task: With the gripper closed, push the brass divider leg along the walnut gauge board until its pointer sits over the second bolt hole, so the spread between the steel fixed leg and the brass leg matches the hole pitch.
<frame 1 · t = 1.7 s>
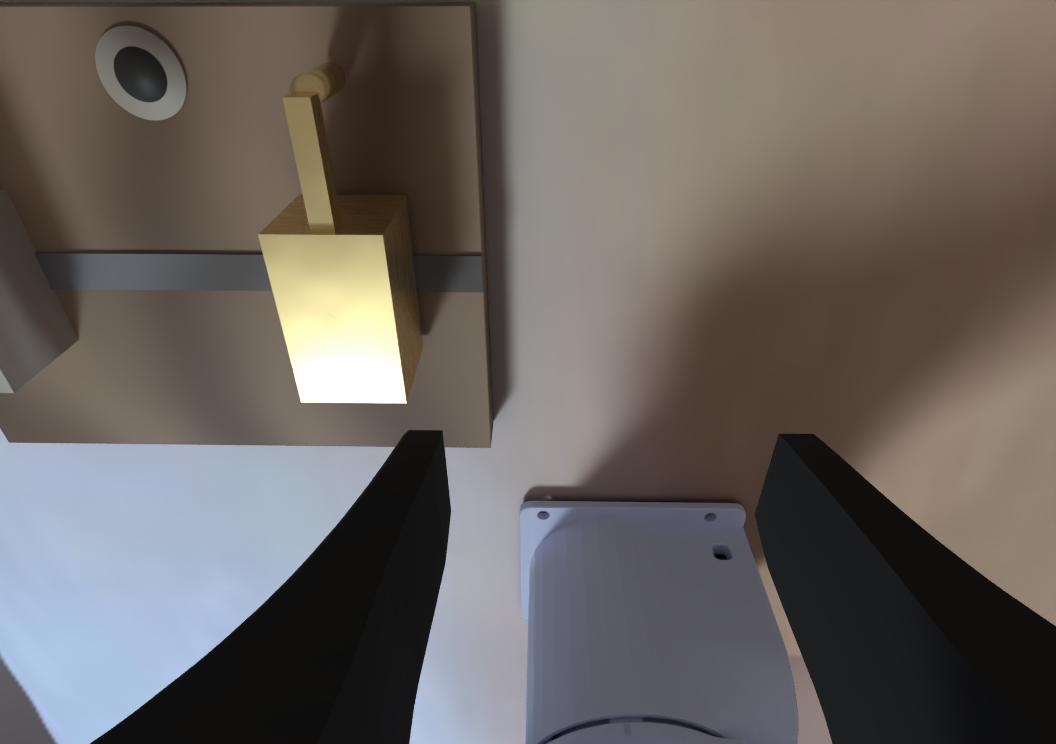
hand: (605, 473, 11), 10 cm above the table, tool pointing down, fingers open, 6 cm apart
brass leg: (343, 243, 16), point 3 cm above the table, slide at 5.0 cm
gauge board: (211, 251, 20), on the table
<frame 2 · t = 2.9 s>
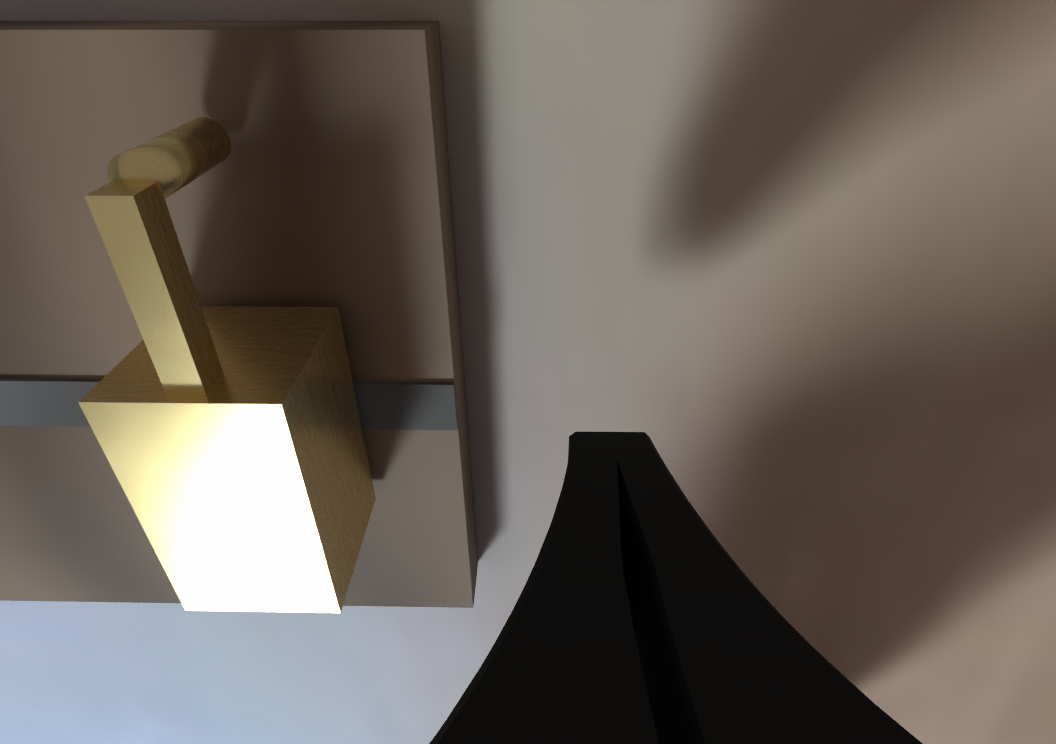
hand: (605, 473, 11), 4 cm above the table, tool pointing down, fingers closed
brass leg: (236, 389, 11), point 3 cm above the table, slide at 5.0 cm
gauge board: (81, 363, 14), on the table
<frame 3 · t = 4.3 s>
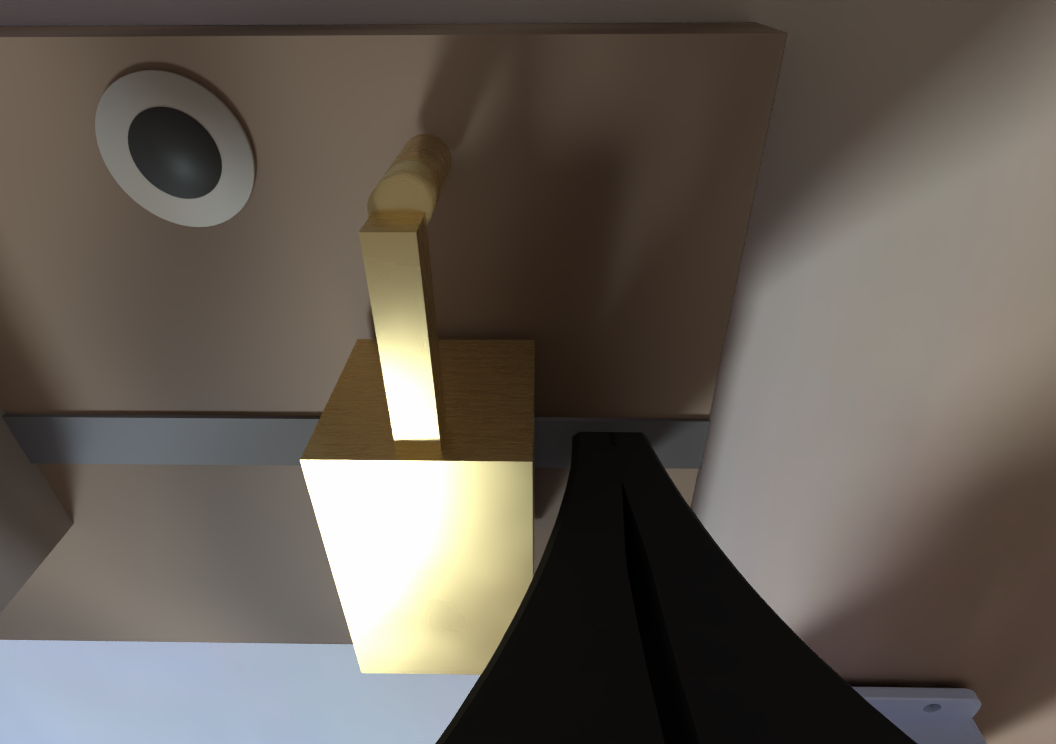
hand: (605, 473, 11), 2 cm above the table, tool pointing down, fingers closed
brass leg: (437, 434, 10), point 3 cm above the table, slide at 3.7 cm, touching gripper
gauge board: (272, 394, 13), on the table
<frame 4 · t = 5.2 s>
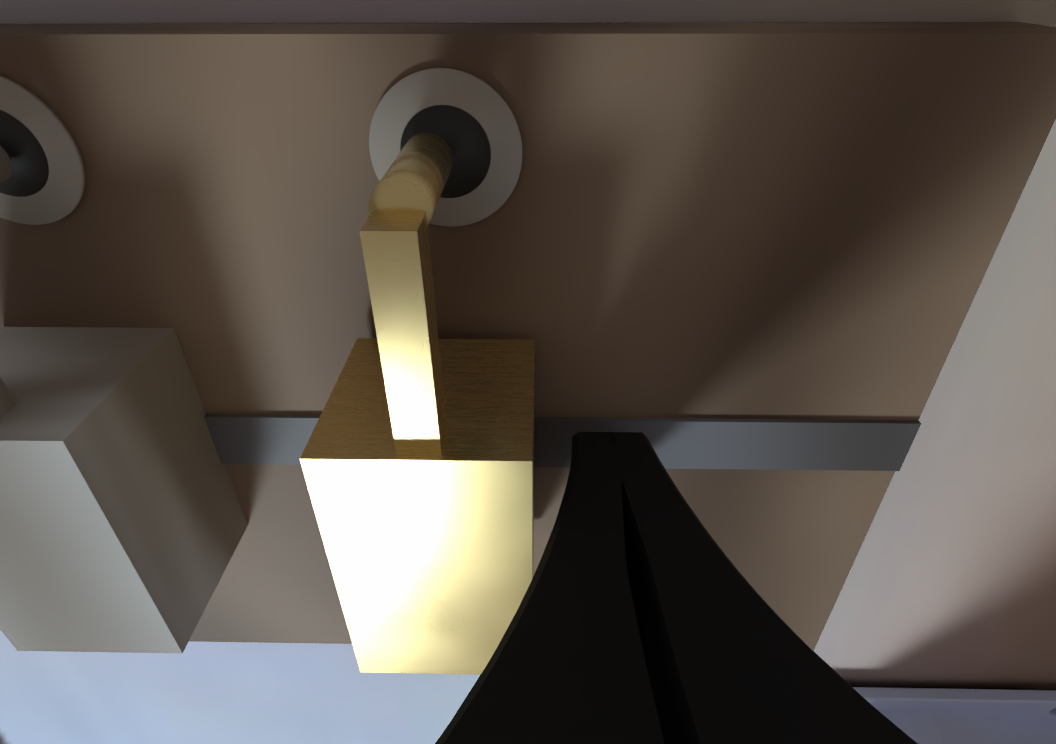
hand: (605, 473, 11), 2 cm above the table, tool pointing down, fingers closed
brass leg: (437, 433, 10), point 3 cm above the table, slide at -0.2 cm, touching gripper
gauge board: (452, 394, 13), on the table
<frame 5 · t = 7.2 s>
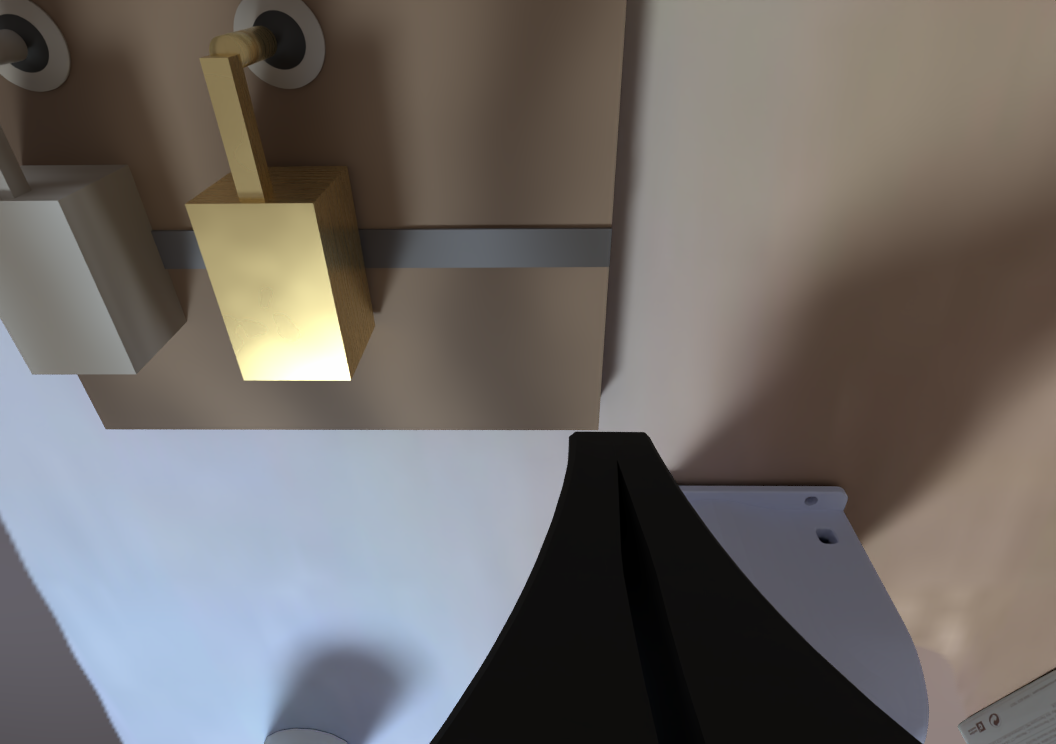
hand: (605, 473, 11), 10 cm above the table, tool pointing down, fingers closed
brass leg: (280, 215, 16), point 3 cm above the table, slide at -0.3 cm
supplement box: (1047, 706, 35), on the table
gauge board: (323, 229, 20), on the table
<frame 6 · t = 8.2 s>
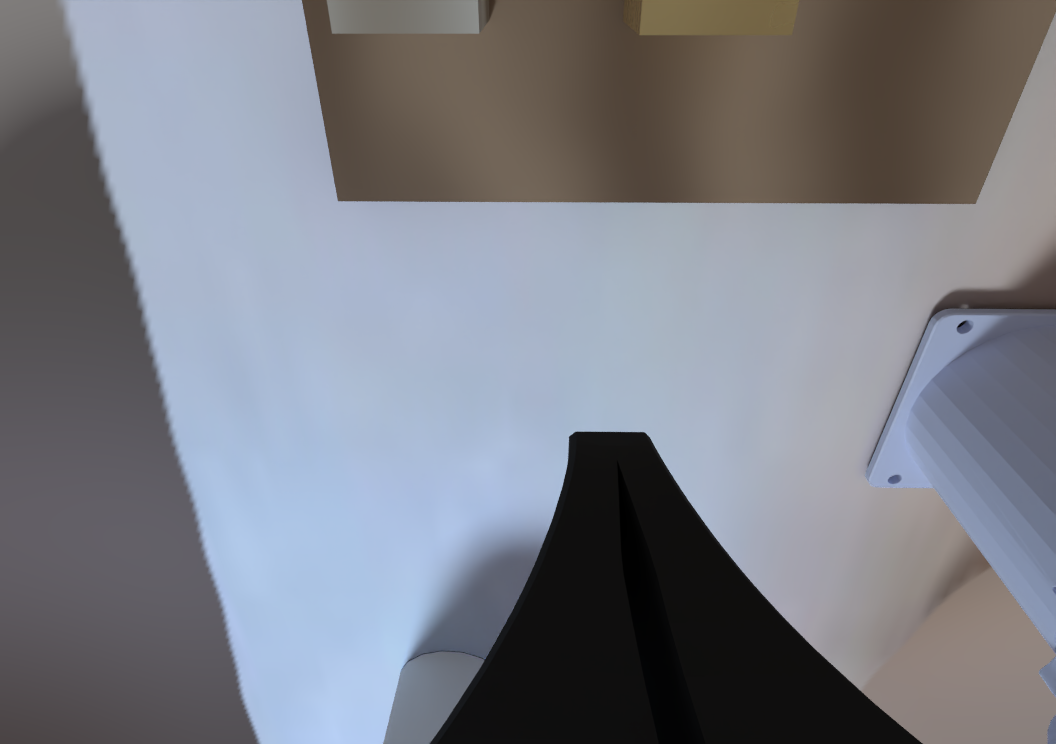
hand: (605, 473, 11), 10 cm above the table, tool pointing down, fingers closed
drinking glass: (451, 677, 35), on the table
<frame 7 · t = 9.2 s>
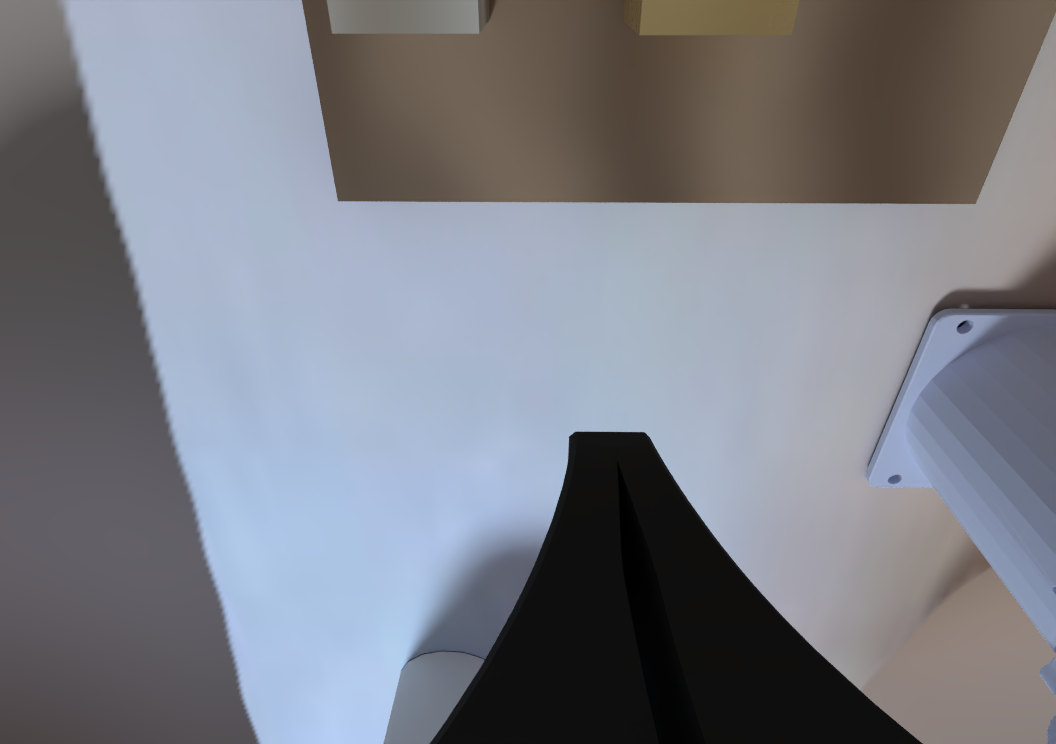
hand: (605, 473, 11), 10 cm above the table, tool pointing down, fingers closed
drinking glass: (452, 676, 35), on the table
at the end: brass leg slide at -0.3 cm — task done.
